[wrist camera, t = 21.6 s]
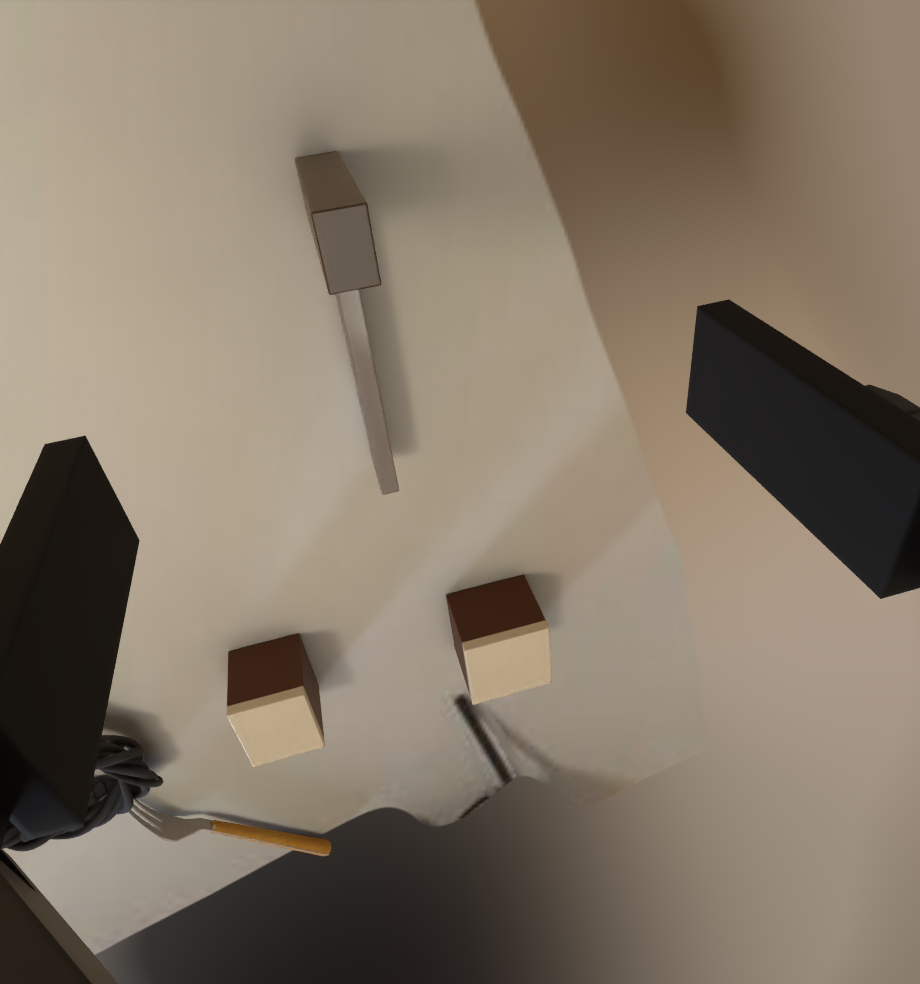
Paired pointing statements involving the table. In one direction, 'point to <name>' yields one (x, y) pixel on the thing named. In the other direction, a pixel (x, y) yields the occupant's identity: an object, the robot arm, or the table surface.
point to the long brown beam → (349, 283)
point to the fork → (226, 831)
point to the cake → (500, 638)
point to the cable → (102, 791)
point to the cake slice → (274, 700)
